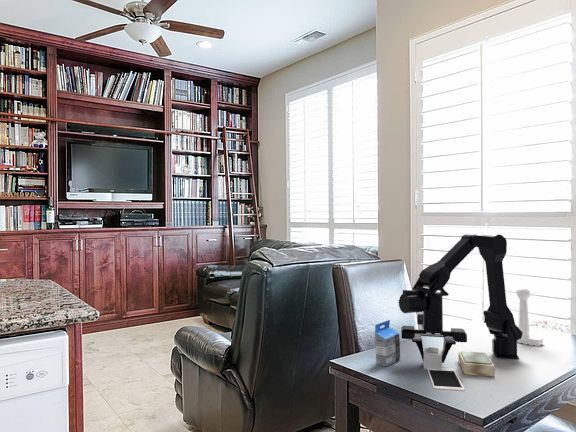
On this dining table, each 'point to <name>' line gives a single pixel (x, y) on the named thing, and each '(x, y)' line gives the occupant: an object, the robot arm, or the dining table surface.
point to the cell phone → (445, 379)
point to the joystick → (525, 319)
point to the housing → (433, 358)
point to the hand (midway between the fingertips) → (433, 361)
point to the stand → (476, 363)
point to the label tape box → (386, 344)
